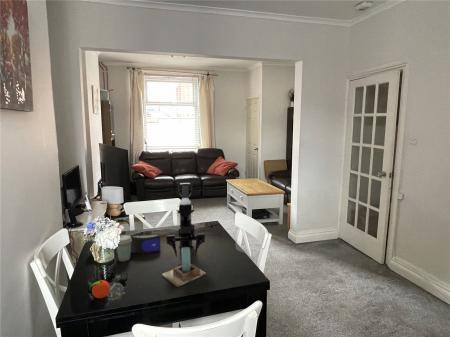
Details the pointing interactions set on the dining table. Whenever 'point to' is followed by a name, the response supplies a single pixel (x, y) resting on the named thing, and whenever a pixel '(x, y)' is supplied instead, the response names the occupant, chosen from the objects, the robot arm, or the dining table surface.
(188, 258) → the peg
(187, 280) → the keyhole socket
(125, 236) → the coffee cup
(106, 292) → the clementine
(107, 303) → the dining table surface
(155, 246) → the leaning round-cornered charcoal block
